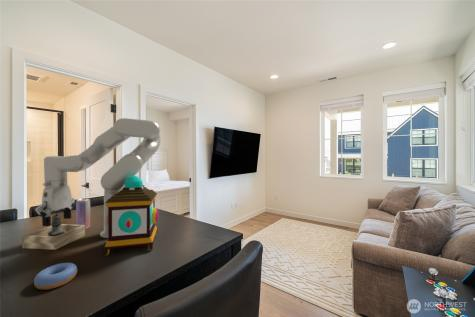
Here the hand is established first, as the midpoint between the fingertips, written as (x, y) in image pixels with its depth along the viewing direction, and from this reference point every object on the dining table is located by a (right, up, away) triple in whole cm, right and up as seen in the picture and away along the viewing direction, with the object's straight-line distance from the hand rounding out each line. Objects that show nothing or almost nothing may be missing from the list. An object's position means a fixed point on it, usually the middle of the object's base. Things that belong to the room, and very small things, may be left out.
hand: (57, 222), depth 90 cm
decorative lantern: (+35, -9, -2) cm, 37 cm away
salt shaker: (-1, -8, 0) cm, 8 cm away
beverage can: (-2, -9, +17) cm, 19 cm away
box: (-1, -9, 0) cm, 9 cm away
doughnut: (+25, -10, -28) cm, 39 cm away
